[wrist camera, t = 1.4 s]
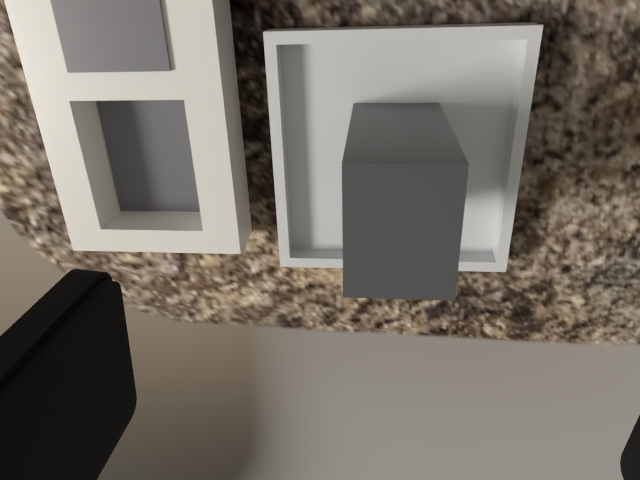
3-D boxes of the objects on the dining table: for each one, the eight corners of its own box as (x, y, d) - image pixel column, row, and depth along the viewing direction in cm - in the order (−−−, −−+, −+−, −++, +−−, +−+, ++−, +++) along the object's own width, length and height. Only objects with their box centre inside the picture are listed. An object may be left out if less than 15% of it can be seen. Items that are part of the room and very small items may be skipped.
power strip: (206, -235, 22) (177, -272, 19) (252, 230, 32) (238, 259, 29) (-12, -218, 23) (-75, -250, 20) (97, 228, 33) (67, 255, 30)
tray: (533, 22, 25) (543, 25, 24) (499, 257, 31) (505, 271, 29) (270, 28, 26) (263, 31, 25) (285, 252, 32) (280, 266, 31)
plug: (438, 102, 27) (468, 164, 18) (431, 202, 29) (454, 300, 20) (353, 103, 27) (341, 163, 18) (353, 202, 30) (343, 297, 21)
